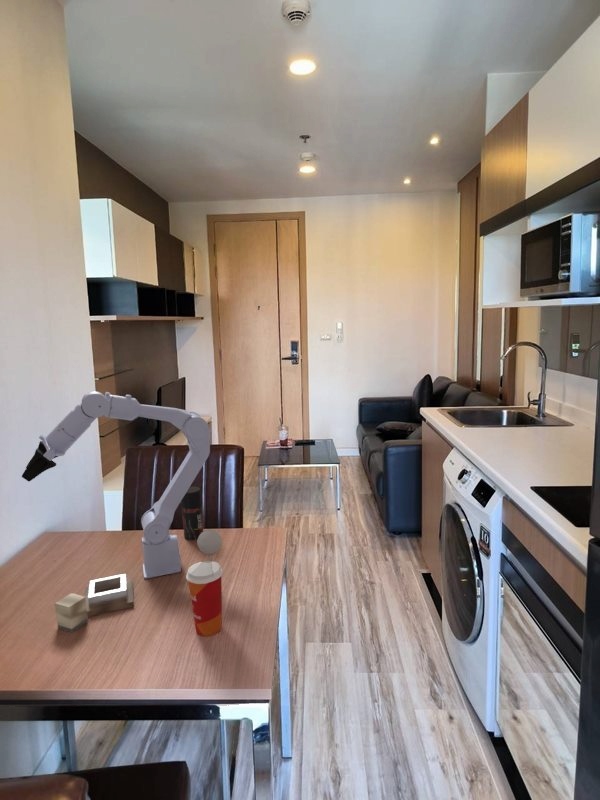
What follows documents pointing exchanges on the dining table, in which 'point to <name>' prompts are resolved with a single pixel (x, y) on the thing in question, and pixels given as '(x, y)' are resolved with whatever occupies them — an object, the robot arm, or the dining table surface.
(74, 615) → the sleeve block
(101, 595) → the collar board
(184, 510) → the deodorant
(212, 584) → the paper cup
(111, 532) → the dining table surface
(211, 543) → the lollipop
